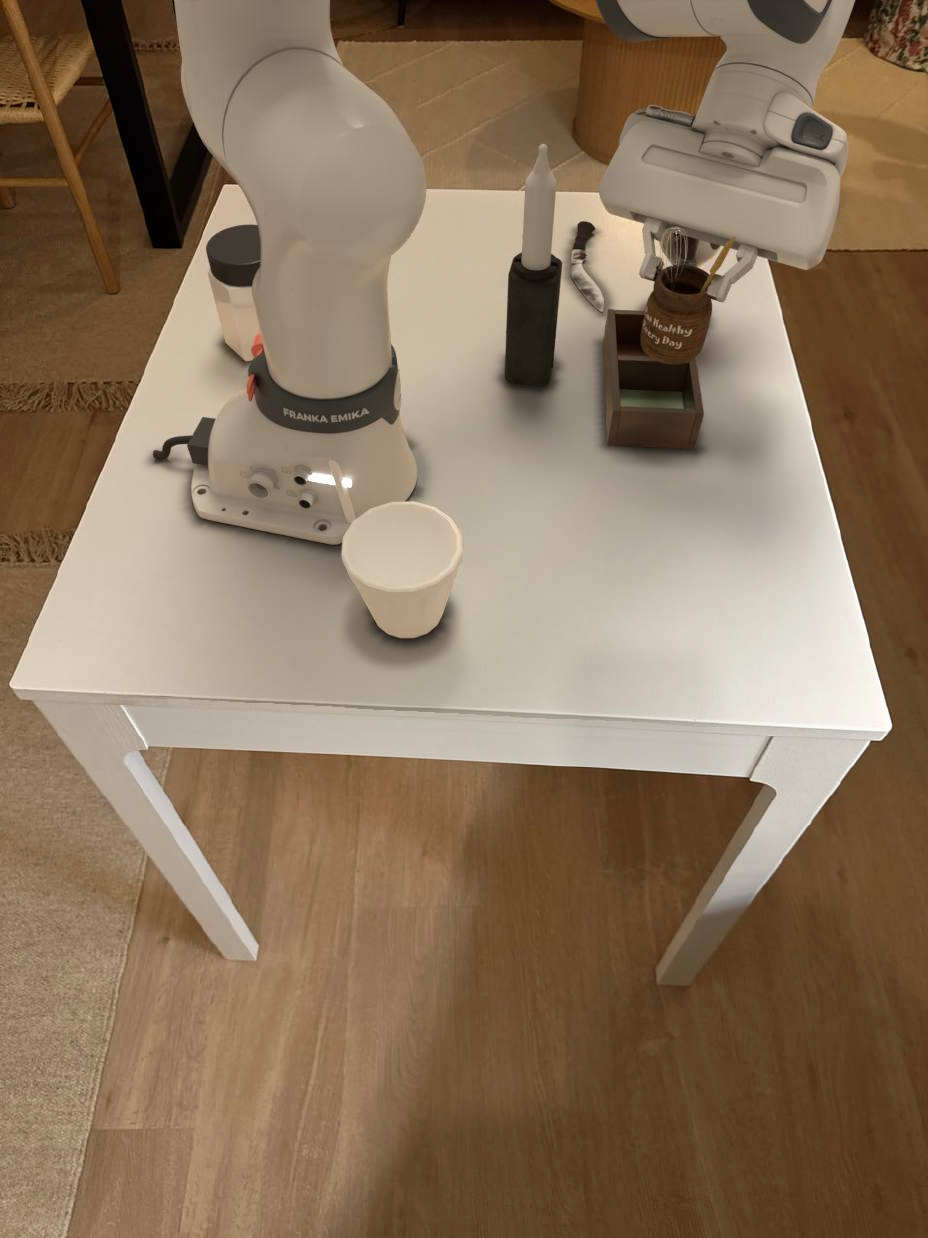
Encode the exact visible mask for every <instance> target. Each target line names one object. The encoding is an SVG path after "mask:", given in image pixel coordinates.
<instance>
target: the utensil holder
mask: <svg viewBox="0 0 928 1238" xmlns="http://www.w3.org/2000/svg"><path fill="white" fill-rule="evenodd" d="M672 228H673V229H676V228H678V229H679V231H680V229H681V228H679V227H675V228H674V227H672ZM669 229H670V230H671V232H672V231H673V230H672V229H671V228H669ZM678 229H677V230H678ZM667 230H668V229H667ZM667 230H666V231H667ZM682 230H683V229H682ZM666 231H665V232H666ZM668 231H669V230H668ZM668 231H667V232H668ZM683 231H684V230H683ZM665 232H664V233H665ZM667 232H666V233H667ZM675 232H676V230H675ZM684 232H685V231H684ZM666 233H665V234H666ZM681 233H682V232H681V231H680V234H681ZM665 234H663V236H664V235H665ZM670 234H671V233H670ZM682 234H683V233H682ZM685 234H686V233H685ZM669 236H670V235H669ZM683 236H684V235H683ZM686 237H687V235H686ZM676 238H677V235H676ZM735 238H736V237H735V236H734V237H733V238H732V239H730V241H729V242H728V243H726V244H725V246H722V249H721V250H720V252H719V254H718V256H717V257H716V259H715V261H714V262H713V264H712V266H711V268H710V269H709V273H708V271H706V270H704V269H702V268H701V267H699V268H698V267H694V266H690V265H679V263H678V265H677V263H676V265H669V266H666V265H668V259H667V253H666V256H665V257H666V258H665V261H666V263H665V261H664V260H662V261H663V263H664V266H662V268H663V269H662V270H661V271H660V272H659V273H658V275H657V277H656V280H655V282H654V281H653V287H652V288H653V290H652V291H651V293H650V294H649V296H648V298H647V301H646V305H645V309H644V311H645V314H644V319H643V325H642V330H641V346H642V349H643V350H644V352H645V353H646V354H647V355H648V356H649V357H651V358H652V359H654V360H656V361H658V362H661V363H666V364H683V363H687V362H690V361H692V360H694V359H695V358H696V359H697V358H698V357H699V355H700V354H701V353H702V351H703V348H704V345H705V342H706V338H707V336H708V331H709V328H710V324H711V319H712V314H713V302H712V301H713V300H712V299H710V298H709V297H708V296H707V295H706V293H707V289H708V287H709V286H710V285H711V280H712V278H713V276H714V274H717V271H718V270H719V269H720V268H721V267H722V265H723V264H724V261H725V259H726V257H727V256H728V254H729V252H730V248H731V246H732V244H733V242H734V240H735ZM668 239H669V237H668ZM684 239H685V237H684ZM661 242H662V247H663V237H662V240H661ZM667 244H668V241H667ZM659 248H660V252H659V257H660V260H661V258H662V259H664V253H663V252H662V249H661V247H659ZM680 254H681V246H680ZM686 256H687V253H686V241H685V258H686ZM670 260H671V238H670ZM679 261H680V257H679ZM685 261H686V259H685ZM685 261H684V264H685ZM665 264H666V265H665ZM661 265H662V263H661Z"/></svg>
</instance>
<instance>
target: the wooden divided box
mask: <svg viewBox="0 0 928 1238" xmlns="http://www.w3.org/2000/svg"><path fill="white" fill-rule="evenodd" d="M644 314H645V310H636V309H635V310H633V309H611V308H610V309H607V312H606V320H605V324H604V325H605V326H604V333H603V340H602V355H603V377H604V378H603V379H604V399H605V401H604V403H605V423H606V424H605V426H606V444H607V446H615V447H616V446H617V447H639V448H640V447H641V448H662V449H663V448H665V449H687V450H695V449H696V446H697V443H698V440H699V435H700V431H701V427H702V424H703V421H704V418H705V417H704V416H705V412H704V404H703V398H702V390H701V383H700V376H699V370H698V369H699V368H698V363H697V357H696V358H695V359H694V360H692V361H690V362H687V363H683V364H666V363H661V362H658V361H656V360H654V359H652V358H651V357H649V356H648V355H647V354H646V353H645V352H644V350H643V349H642V346H641V330H642V325H643V319H644Z"/></svg>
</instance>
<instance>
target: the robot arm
mask: <svg viewBox="0 0 928 1238" xmlns="http://www.w3.org/2000/svg"><path fill="white" fill-rule="evenodd" d="M173 1H174V2H173V3H174V11H175V19H176V20H175V21H176V26H177V27H176V28H177V34H178V42H179V48H180V55H181V67H180V81H181V89H182V94H183V97H184V100H185V104H186V106H187V110H188V112H189V115H190V118H191V120H192V123H193V125H194V127H195V130H196V132H197V133H198V136H199V138H200V140H201V141H202V143H203V145H204V147H205V148H206V149H207V151H208V152H209V153H210V154H211V155H212V156H213V158H214V159H215V160H216V161H217V162H218V164H220V166H221V167H222V168H223V169H224V170H225V171H226V173H228V175H229V176H230V177H231V178H232V179H233V180H234V181H235V183H236V184H237V185H238V187H239V188H240V189H241V191H242V193H243V194H244V197H245V198H246V201H247V203H248V205H249V207H250V209H251V211H252V213H253V216H254V219H255V223H256V225H258V229H259V234H260V243H261V262H260V268H259V269H258V271H257V273H256V274H255V277H254V280H253V283H252V296H253V301H254V306H255V310H256V315H257V320H258V324H259V329H260V333H258V334H257V335H256V337H255V339H254V345H253V346H252V348H251V352H252V355H253V356H254V357H255V358H254V359H253V360H252V361H250V363H249V365H248V368H247V369H248V370H247V374H248V380H247V382H246V387H245V388H242V389H241V390H239V391H237V392H235V393H234V394H233V395H231V396H230V397H229V398H228V399H227V400H226V401H225V403H224V404H223V405H222V407H221V409H220V410H219V412H218V414H217V416H216V417H215V418H214V417H207V416H202V417H201V419H200V421H199V423H198V425H197V426H196V428H195V430H194V432H193V433H192V434H191V435H177V436H174V437H170V438H168V439H166V440H165V441H164V442H163V444H162V449H161V450H157V449H154V450H153V451H152V457H153V459H157V460H165V459H168V458H169V457H170V455H171V453H172V448H173V447H175V446H180V445H186V447H187V451H188V453H189V456H190V459H191V462H192V464H194V469H193V472H192V478H191V487H190V491H191V492H190V493H191V499H192V503H193V507H194V511H195V512H196V514H197V515H198V517H199V518H201V519H204V520H206V521H212V522H218V523H222V524H226V525H227V524H228V525H231V526H237V527H242V528H247V529H252V530H257V531H262V532H267V533H272V534H277V535H280V536H281V535H282V536H286V537H291V538H296V539H301V540H306V541H310V542H316V543H321V544H327V545H331V546H332V545H335V546H336V545H340V544H342V541H343V536H344V535H345V533H346V532H347V530H348V528H349V527H350V525H351V524H352V522H353V521H354V520H355V519H357V518H358V517H360V516H361V515H362V514H364V513H365V512H367V511H368V510H369V509H371V508H374V507H377V506H381V505H384V504H387V503H390V502H407V500H408V499H409V497H410V496H411V494H412V493H413V492H414V489H415V487H416V484H417V482H418V476H419V470H418V464H417V461H416V458H415V456H414V454H413V452H412V450H411V448H410V446H409V442H408V440H407V437H406V433H405V429H404V427H403V423H402V419H401V413H400V411H401V408H402V386H401V371H400V368H399V365H398V357H397V353H396V348H395V347H394V346H393V344H392V339H391V325H390V324H391V323H390V310H389V309H390V308H389V296H388V279H389V271H390V270H389V269H390V264H391V259H392V256H393V255H395V253H397V252H398V251H399V250H400V249H401V248H402V247H403V246H404V245H405V244H406V243H407V241H408V240H409V239H410V237H411V236H412V234H413V233H414V231H415V230H416V228H417V226H418V224H419V222H420V219H421V217H422V214H423V212H424V208H425V203H426V198H427V175H426V169H425V164H424V162H423V159H422V157H421V155H420V152H419V151H418V149H417V147H416V145H415V144H414V142H413V140H412V139H411V137H410V135H409V133H408V132H407V130H406V128H405V127H404V126H403V124H402V122H401V121H400V120H399V118H398V116H397V114H396V113H395V112H394V110H393V109H392V108H391V106H390V105H389V104H388V103H387V102H386V100H384V99H383V98H382V97H381V96H379V94H377V93H376V92H375V91H374V90H372V89H371V88H370V87H369V86H368V85H366V84H365V83H364V82H363V81H362V80H360V79H359V78H358V77H356V75H354V74H353V73H352V72H350V71H349V70H348V69H347V68H346V67H345V66H344V63H343V61H342V59H341V58H340V56H339V53H338V51H337V48H336V45H335V42H334V38H333V34H332V27H331V0H173ZM594 1H595V4H596V7H597V9H598V12H599V14H600V15H601V18H602V19H603V20H604V22H605V24H606V25H607V27H608V28H609V29H610V31H611V32H612V33H613V34H614V35H616V37H618V38H619V39H620V40H623V41H625V42H629V43H641V42H649V41H657V40H665V39H669V38H681V37H682V38H688V37H689V38H694V37H695V38H697V37H699V38H701V37H720V39H721V40H722V41H723V43H724V44H725V46H726V50H725V52H724V54H723V55H722V57H721V58H720V59H719V60H718V62H717V63H716V65H715V67H714V69H713V71H712V74H711V76H710V79H709V81H708V83H707V86H706V88H705V91H704V94H703V95H702V99H701V101H700V104H699V107H698V108H697V112H696V114H694V113H690V112H686V111H683V110H673V109H667V108H664V107H663V106H660V105H658V104H657V105H656V104H649V105H647V107H646V108H640V109H637V110H636V111H634V112H632V113H631V114H629V115H628V117H627V118H626V120H625V122H624V125H623V128H622V130H621V133H620V135H619V138H618V147H617V149H616V150H615V152H614V154H613V156H612V158H611V160H610V162H609V164H608V166H607V168H606V169H605V173H604V174H603V176H602V179H601V181H600V183H599V187H598V194H599V198H600V201H601V204H602V205H603V207H604V209H605V211H607V213H608V214H610V215H612V216H616V217H619V218H623V219H625V220H629V221H632V222H633V221H634V222H636V223H640V224H643V227H642V229H641V232H642V233H641V234H642V241H643V249H644V253H645V255H644V257H643V260H642V263H641V265H640V268H639V270H638V271H639V272H638V275H639V277H640V278H641V279H644V280H647V281H650V282H653V283H654V282H655V280H656V277H657V275H658V273H659V272H660V271H661V270H663V269H664V265H665V262H664V263H663V261H664V260H663V258H662V257H661V260H660V256H657V254H656V246H655V245H656V243H655V241H657V242H659V241H661V239H662V237H663V234H664V232H665V230H667V229H668V230H669V231H671V230H670V229H669V228H671V229H672V230H673V231H672V232H675V230H676V232H675V233H678V234H680V231H681V232H682V233H683V234H682V233H681V234H682V235H685V236H686V235H687V236H689V237H692V238H696V239H699V240H703V241H706V242H710V243H713V244H717V245H720V246H721V247H724V246H725V244H726V243H728V242H729V241H730V239H732V238H733V237H734V236H735V237H736V238H735V240H734V242H733V244H732V246H731V248H730V249H731V250H734V251H736V253H735V257H736V261H737V262H736V264H734V265H733V266H732V267H731V268H730V269H728V270H727V271H726V272H725V273H724V274H723V275H721V274H717V273H715V274H714V276H713V278H712V280H711V285H710V286H709V287H708V289H707V293H706V295H707V296H708V297H709V298H710V299H711V300H712V301H716V302H719V303H722V304H723V303H724V302H725V301H726V300H727V297H728V295H729V292H730V289H731V287H732V285H735V284H736V283H737V282H738V281H739V280H740V279H742V278H743V277H745V275H746V274H748V273H749V272H750V271H751V270H753V267H754V266H755V263H756V261H757V259H758V258H762V259H765V260H770V261H773V262H776V263H779V264H783V265H787V266H789V267H793V268H797V269H801V270H804V271H808V270H811V269H813V268H814V267H816V266H817V265H819V264H820V263H821V262H822V261H823V259H824V256H825V254H826V252H827V250H828V249H827V248H828V246H829V244H830V241H831V238H832V235H833V232H834V228H835V225H836V220H837V216H838V213H839V207H840V198H841V178H842V177H843V174H844V172H845V170H846V167H847V165H848V160H849V152H850V148H849V139H848V135H847V133H846V131H845V130H843V128H841V127H840V126H839V125H837V124H835V123H834V122H832V121H831V120H829V119H827V118H826V117H824V116H823V115H822V114H820V113H819V112H817V111H815V110H814V109H813V106H814V103H815V100H816V94H817V87H818V83H819V80H820V77H821V76H822V73H823V72H824V70H825V68H826V67H827V66H828V65H829V63H830V62H831V60H832V59H833V57H834V55H835V53H836V51H837V50H838V47H839V44H840V42H841V41H842V37H843V35H844V32H845V29H846V27H847V24H848V22H849V19H850V16H851V14H852V11H853V8H854V5H855V2H856V0H594ZM672 227H674V228H675V227H679V228H681V229H680V231H679V229H678V228H676V229H673V228H672ZM677 229H678V230H677ZM682 229H683V230H684V231H685V232H684V231H683V230H682ZM685 233H686V234H685ZM661 263H662V265H661ZM662 266H663V268H662Z"/></svg>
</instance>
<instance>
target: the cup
mask: <svg viewBox="0 0 928 1238" xmlns="http://www.w3.org/2000/svg"><path fill="white" fill-rule="evenodd" d="M463 554H464V553H463V534H462V532H461V531H460V529H459V527H458V526H457V524H456V522H455V520H454V518H452V517H450V516H448V514H446V513H445V512H443V511H442V510H441V509H439V508H437V507H436V506H432V505H429V504H425V503H422V502H418V501H405V502H390V503H387V504H384V505H381V506H377V507H374V508H371V509H369V510H368V511H367V512H365V513H364V514H362V515H361V516H360V517H358V518H357V519H355V520H354V521H353V522H352V524H351V525H350V527H349V528H348V530H347V532H346V533H345V535H344V536H343V541H342V543H341V560H342V564H343V565H344V568H345V570H346V572H347V574H348V576H349V579H350V580H351V582H353V584H354V585H355V587H356V589H357V591H358V593H359V595H360V597H361V598H362V600H363V602H364V604H365V605H366V607H367V609H368V611H369V613H370V614H371V616H372V618H373V620H374V621H375V623H376V626H377V627H378V628H380V629H381V630H382V631H383V632H384V633H386V634H387V635H388V636H391V637H394V638H396V639H401V640H404V639H405V640H408V639H412V640H413V639H414V640H415V639H417V638H421V637H423V636H426V635H428V634H429V633H430V632H431V631H432V630H433V629H435V628H436V627H438V625H439V623H440V621H441V618H442V617H443V615H444V612H445V610H446V607H447V602H448V600H449V597H450V594H451V591H452V588H453V587H454V586H453V585H454V582H455V580H456V577H457V573H458V571H459V568H460V566H461V564H462V562H463Z"/></svg>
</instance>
